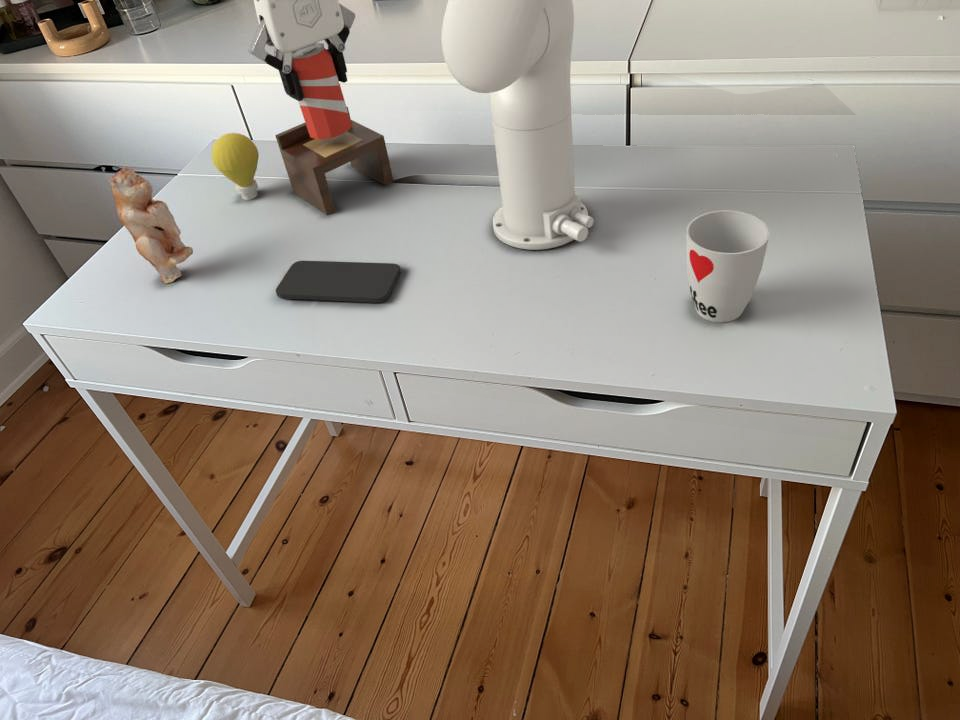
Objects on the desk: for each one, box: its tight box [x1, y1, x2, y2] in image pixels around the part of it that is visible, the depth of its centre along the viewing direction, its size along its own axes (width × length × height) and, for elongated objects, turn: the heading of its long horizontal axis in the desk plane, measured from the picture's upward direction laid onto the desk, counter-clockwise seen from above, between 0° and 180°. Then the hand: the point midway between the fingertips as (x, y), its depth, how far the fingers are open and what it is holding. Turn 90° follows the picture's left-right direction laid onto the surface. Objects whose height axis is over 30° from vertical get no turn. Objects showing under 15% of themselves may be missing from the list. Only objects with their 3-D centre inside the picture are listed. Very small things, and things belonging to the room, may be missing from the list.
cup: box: [685, 209, 770, 323], centre depth 82 cm, size 8×8×10 cm
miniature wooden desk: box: [275, 105, 395, 216], centre depth 114 cm, size 10×12×10 cm
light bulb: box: [211, 132, 260, 201], centre depth 115 cm, size 7×7×10 cm
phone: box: [275, 260, 402, 304], centre depth 98 cm, size 7×1×15 cm
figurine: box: [108, 166, 194, 284], centre depth 100 cm, size 6×8×15 cm
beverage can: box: [292, 42, 352, 141], centre depth 107 cm, size 6×6×12 cm
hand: (318, 87), depth 106 cm, fingers closed on beverage can, 6 cm apart
